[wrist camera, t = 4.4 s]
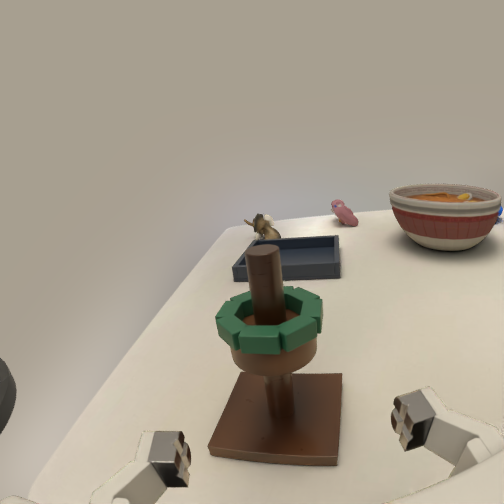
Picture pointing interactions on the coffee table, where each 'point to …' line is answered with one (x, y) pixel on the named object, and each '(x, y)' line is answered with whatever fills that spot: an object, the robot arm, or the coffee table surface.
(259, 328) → the ring
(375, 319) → the coffee table surface
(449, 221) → the bowl
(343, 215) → the video game controller
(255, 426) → the peg stand
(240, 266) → the tray
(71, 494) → the coffee table surface
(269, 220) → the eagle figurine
